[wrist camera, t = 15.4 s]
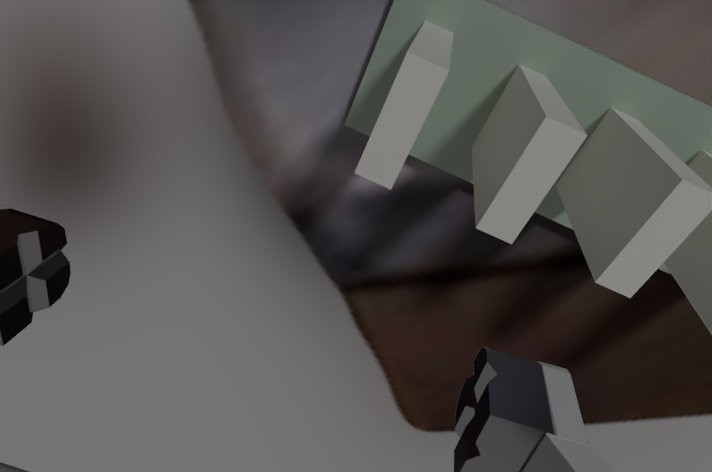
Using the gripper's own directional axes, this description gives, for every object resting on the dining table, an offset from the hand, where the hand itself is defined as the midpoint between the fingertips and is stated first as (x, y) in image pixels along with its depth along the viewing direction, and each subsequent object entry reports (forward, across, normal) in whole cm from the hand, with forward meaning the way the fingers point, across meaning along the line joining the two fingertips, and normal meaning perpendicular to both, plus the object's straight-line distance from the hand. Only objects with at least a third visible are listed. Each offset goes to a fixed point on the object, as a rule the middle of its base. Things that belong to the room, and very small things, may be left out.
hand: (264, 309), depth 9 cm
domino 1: (+24, -1, 0) cm, 24 cm away
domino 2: (+24, -7, +1) cm, 25 cm away
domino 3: (+24, -13, +2) cm, 27 cm away
